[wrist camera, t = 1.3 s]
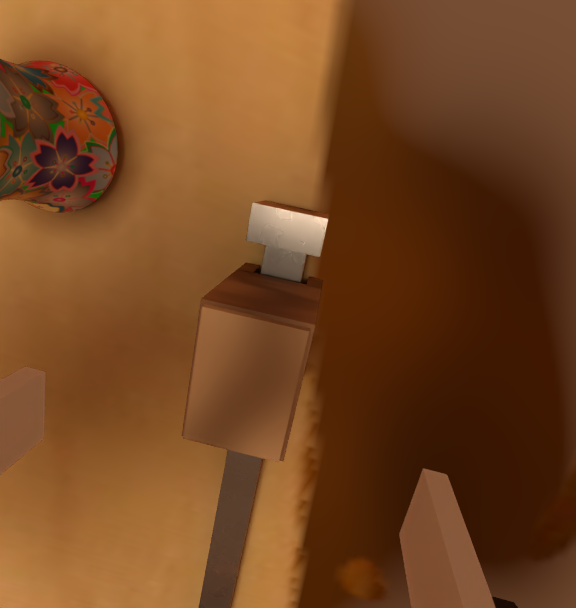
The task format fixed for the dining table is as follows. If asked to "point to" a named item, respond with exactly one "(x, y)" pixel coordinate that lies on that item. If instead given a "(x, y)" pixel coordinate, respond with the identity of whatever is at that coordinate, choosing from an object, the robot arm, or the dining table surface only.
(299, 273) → the rail
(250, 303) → the block
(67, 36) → the dining table surface
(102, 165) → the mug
